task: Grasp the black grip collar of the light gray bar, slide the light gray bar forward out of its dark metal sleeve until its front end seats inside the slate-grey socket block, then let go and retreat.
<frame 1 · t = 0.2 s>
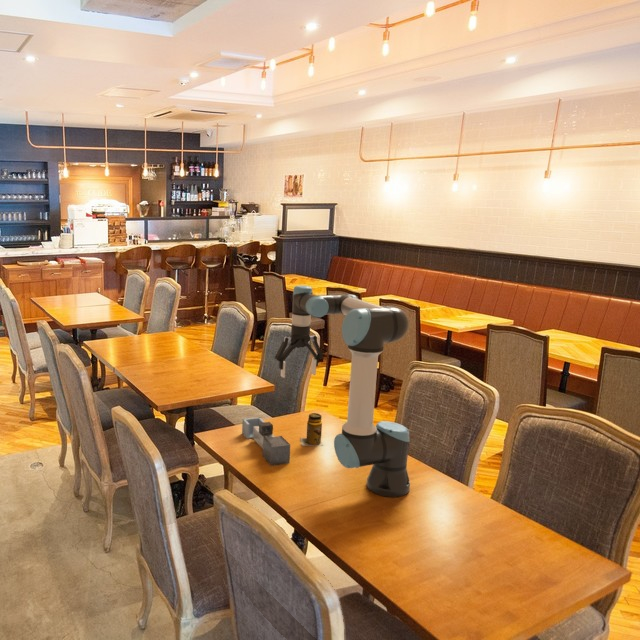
hand: (298, 375, 241), 28 cm above the table, fingers open, 13 cm apart
sleeve: (275, 459, 226), on the table
socket: (253, 435, 248), on the table
yellow drink bottle: (311, 442, 244), on the table
light gray bar: (268, 437, 232), point 6 cm above the table, slide at 0.0 cm
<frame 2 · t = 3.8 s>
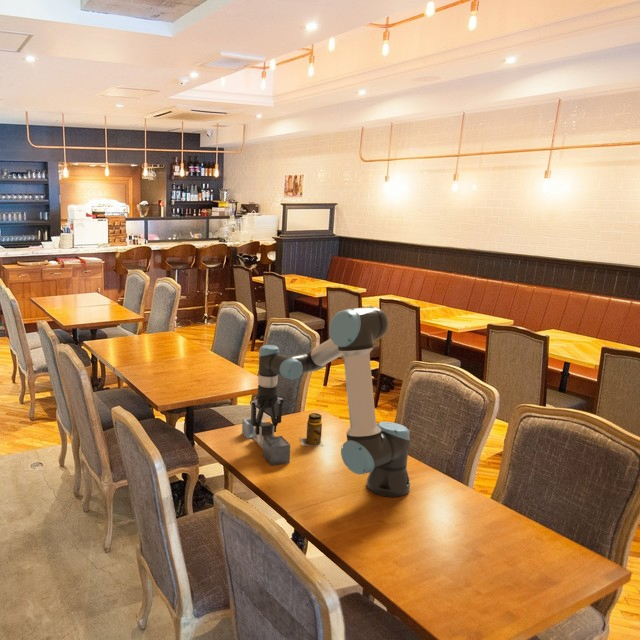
hand: (265, 440, 235), 3 cm above the table, fingers closed on light gray bar, 4 cm apart
light gray bar: (268, 437, 232), point 6 cm above the table, slide at 0.0 cm, touching gripper
everything else where it was.
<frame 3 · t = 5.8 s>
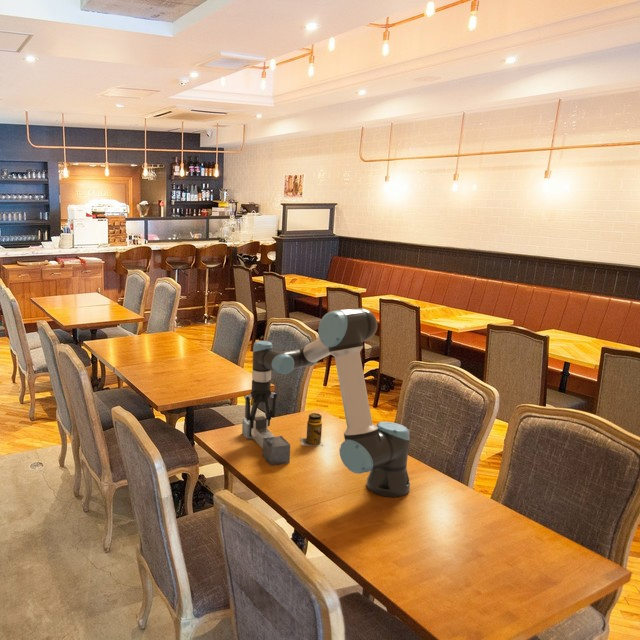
hand: (259, 434, 241), 3 cm above the table, fingers closed on light gray bar, 4 cm apart
light gray bar: (262, 431, 238), point 6 cm above the table, slide at 6.8 cm, touching gripper
everything else where it was.
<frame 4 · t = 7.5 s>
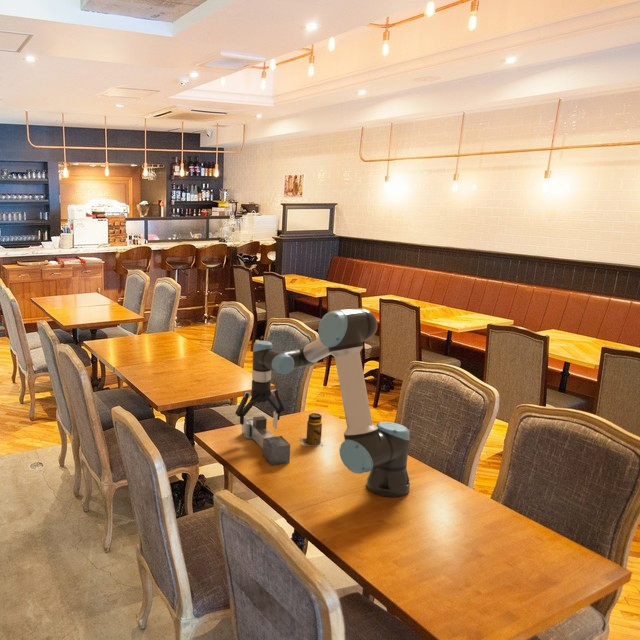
hand: (259, 429, 241), 5 cm above the table, fingers open, 13 cm apart
light gray bar: (262, 431, 238), point 6 cm above the table, slide at 6.8 cm
everything else where it was.
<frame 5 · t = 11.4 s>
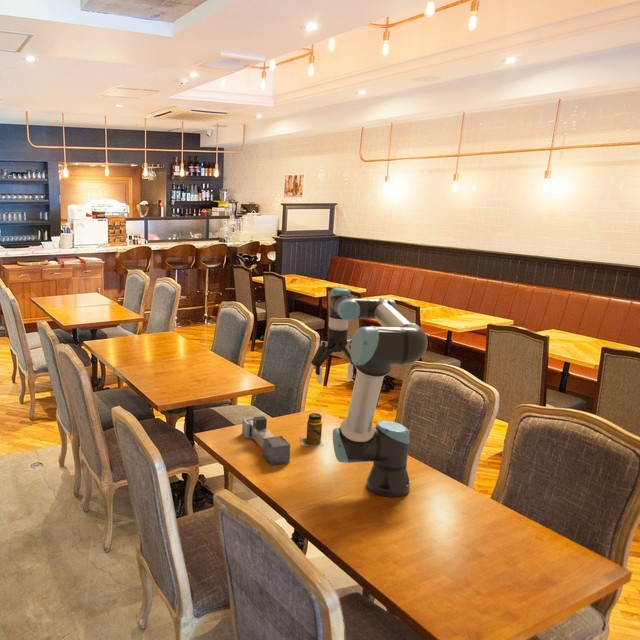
hand: (334, 381, 232), 29 cm above the table, fingers open, 13 cm apart
nothing on the table moved.
at the end: light gray bar slide at 6.8 cm; the gripper is holding nothing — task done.
